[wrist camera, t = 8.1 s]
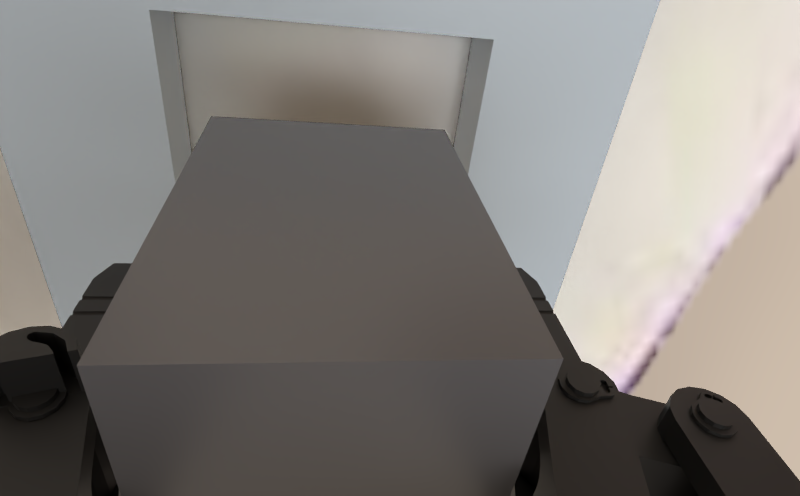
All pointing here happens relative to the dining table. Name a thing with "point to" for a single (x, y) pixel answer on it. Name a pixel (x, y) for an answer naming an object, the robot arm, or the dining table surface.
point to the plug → (320, 325)
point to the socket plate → (315, 4)
